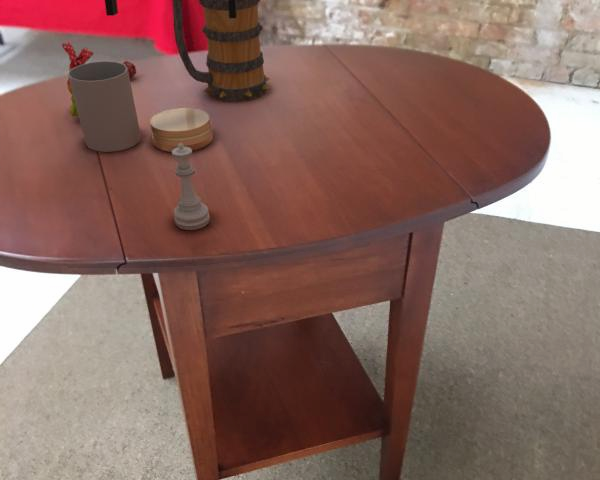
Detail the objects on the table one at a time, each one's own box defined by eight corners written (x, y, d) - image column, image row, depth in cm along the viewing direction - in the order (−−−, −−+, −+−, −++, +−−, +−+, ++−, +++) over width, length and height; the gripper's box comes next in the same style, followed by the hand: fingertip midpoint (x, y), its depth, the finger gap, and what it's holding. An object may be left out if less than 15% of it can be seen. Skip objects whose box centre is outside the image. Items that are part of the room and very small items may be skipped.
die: (137, 75, 119) (134, 57, 117) (137, 80, 117) (133, 63, 114) (121, 76, 118) (118, 58, 116) (121, 81, 116) (117, 64, 114)
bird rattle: (65, 126, 108) (76, 120, 100) (40, 53, 103) (49, 41, 95) (101, 118, 110) (113, 111, 102) (77, 47, 105) (89, 34, 98)
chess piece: (208, 230, 78) (197, 151, 71) (172, 230, 79) (158, 151, 71) (211, 212, 82) (201, 135, 74) (177, 213, 82) (164, 135, 75)
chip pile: (139, 143, 97) (135, 123, 95) (181, 122, 102) (178, 103, 100) (185, 158, 93) (182, 137, 91) (226, 135, 98) (224, 116, 96)
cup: (119, 155, 94) (102, 84, 87) (74, 146, 97) (55, 76, 90) (151, 133, 99) (138, 65, 92) (108, 125, 102) (93, 58, 95)
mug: (285, 95, 110) (281, -43, 96) (192, 114, 105) (172, -29, 91) (256, 73, 118) (248, -57, 104) (168, 89, 113) (146, -45, 99)
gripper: (283, -234, 63) (281, 14, 76) (27, -245, 62) (69, 9, 74) (284, -252, 57) (283, 21, 70) (2, -264, 56) (52, 16, 68)
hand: (173, 16), depth 72 cm, fingers open, 13 cm apart
